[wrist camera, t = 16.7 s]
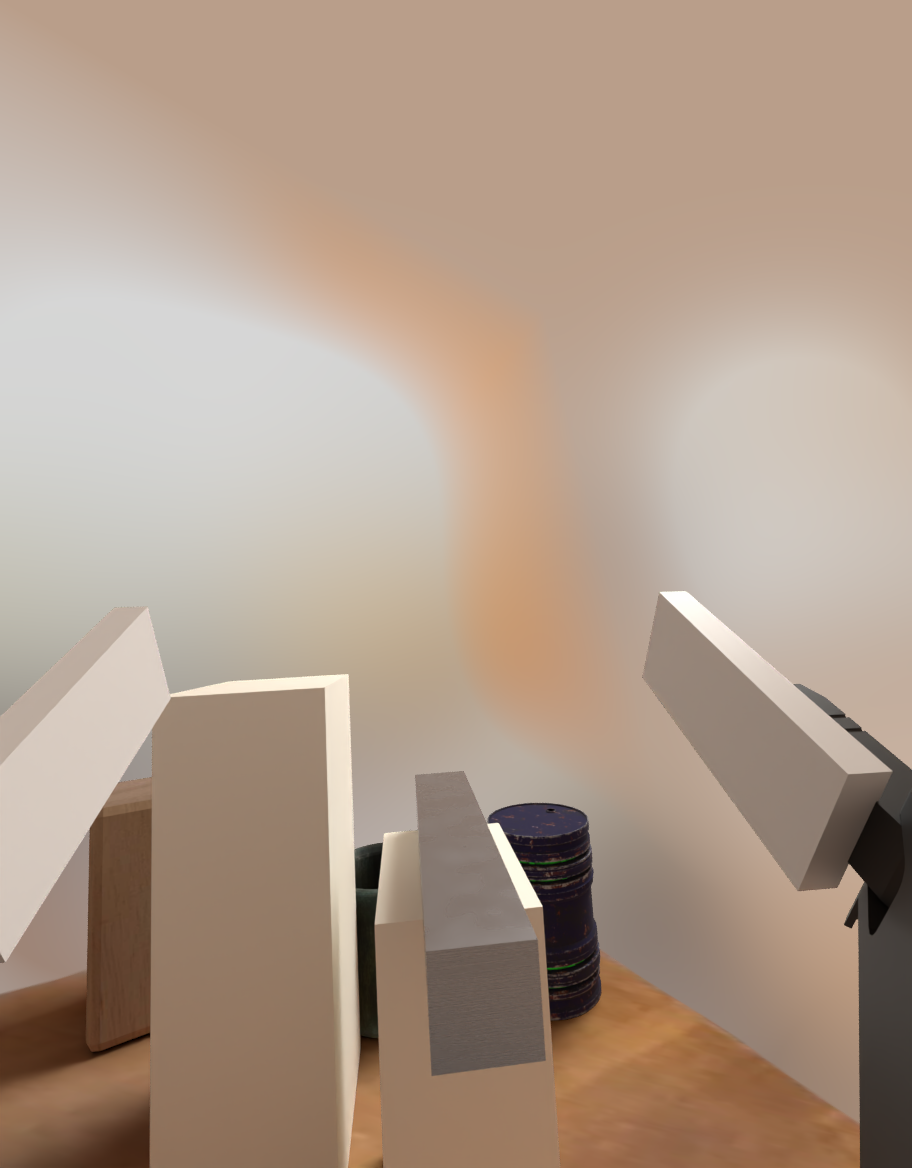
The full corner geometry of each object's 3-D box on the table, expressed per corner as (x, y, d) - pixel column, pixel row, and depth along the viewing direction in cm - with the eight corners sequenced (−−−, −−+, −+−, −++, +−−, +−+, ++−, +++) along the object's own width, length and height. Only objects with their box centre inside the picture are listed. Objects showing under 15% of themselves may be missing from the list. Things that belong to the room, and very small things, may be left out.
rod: (431, 1076, 16) (425, 951, 16) (417, 825, 38) (415, 775, 38) (545, 1060, 16) (537, 939, 17) (466, 821, 38) (463, 771, 38)
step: (391, 1409, 23) (374, 924, 25) (396, 1146, 34) (384, 833, 37) (574, 1373, 23) (542, 906, 26) (517, 1127, 35) (498, 822, 37)
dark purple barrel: (573, 1038, 43) (559, 845, 44) (475, 994, 49) (465, 825, 50) (619, 973, 51) (605, 811, 52) (529, 942, 57) (519, 797, 58)
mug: (331, 1062, 42) (327, 901, 43) (326, 958, 56) (323, 839, 57) (464, 1028, 45) (456, 878, 46) (428, 937, 59) (422, 824, 60)
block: (218, 1012, 48) (217, 785, 50) (84, 1063, 43) (89, 807, 45) (205, 959, 57) (204, 767, 59) (92, 996, 52) (96, 783, 54)
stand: (149, 1271, 28) (152, 698, 31) (233, 1064, 42) (229, 681, 45) (340, 1239, 29) (324, 687, 32) (360, 1047, 43) (348, 674, 46)
